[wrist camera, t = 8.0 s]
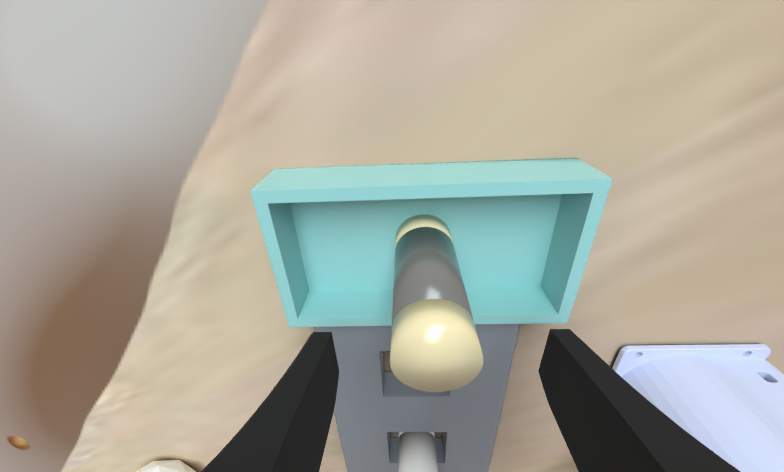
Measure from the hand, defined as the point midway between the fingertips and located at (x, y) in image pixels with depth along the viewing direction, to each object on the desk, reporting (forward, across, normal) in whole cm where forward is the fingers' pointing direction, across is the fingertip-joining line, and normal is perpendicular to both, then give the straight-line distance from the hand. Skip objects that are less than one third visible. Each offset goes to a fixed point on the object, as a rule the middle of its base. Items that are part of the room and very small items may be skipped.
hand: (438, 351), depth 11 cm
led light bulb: (+8, 0, 0) cm, 8 cm away
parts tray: (+8, 0, 0) cm, 8 cm away
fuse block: (+8, +1, +14) cm, 16 cm away
